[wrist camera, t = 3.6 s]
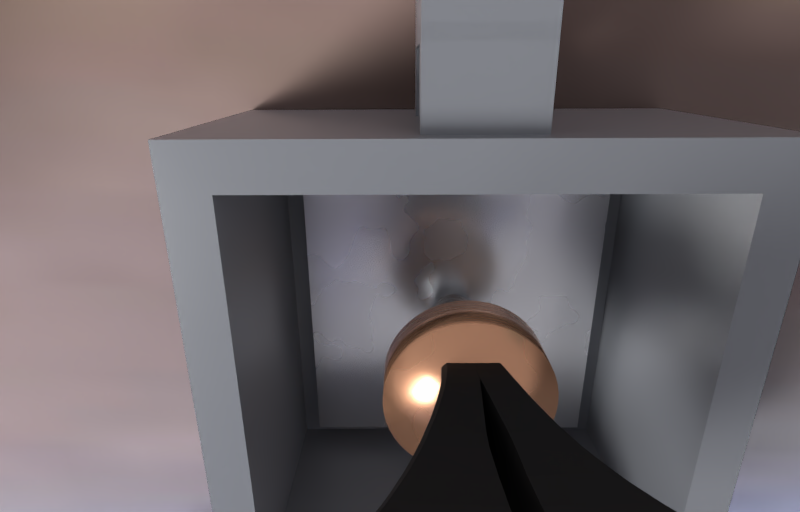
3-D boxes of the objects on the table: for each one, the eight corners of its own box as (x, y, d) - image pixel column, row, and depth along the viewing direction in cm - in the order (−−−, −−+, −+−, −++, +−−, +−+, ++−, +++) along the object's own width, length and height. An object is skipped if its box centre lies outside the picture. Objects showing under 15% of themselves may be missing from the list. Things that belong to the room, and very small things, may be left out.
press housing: (604, 440, 19) (698, 615, 13) (285, 440, 19) (230, 612, 13) (677, 2, 14) (888, -48, 8) (240, 4, 14) (115, -42, 8)
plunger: (571, 415, 18) (634, 546, 13) (322, 415, 18) (292, 544, 13) (605, 166, 15) (703, 215, 10) (305, 167, 15) (257, 217, 10)
